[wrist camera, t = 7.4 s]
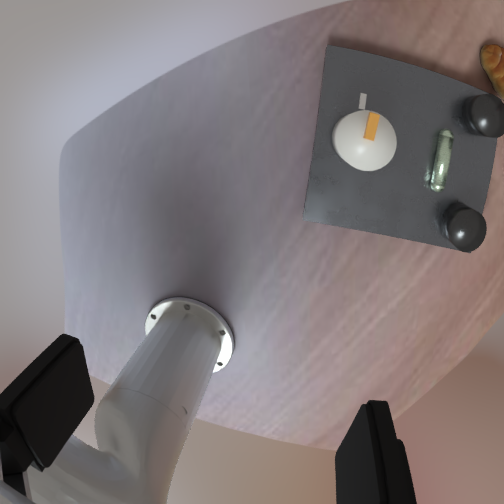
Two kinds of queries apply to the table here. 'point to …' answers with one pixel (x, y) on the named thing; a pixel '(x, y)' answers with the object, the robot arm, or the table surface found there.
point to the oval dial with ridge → (364, 140)
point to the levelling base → (406, 152)
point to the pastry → (494, 66)
